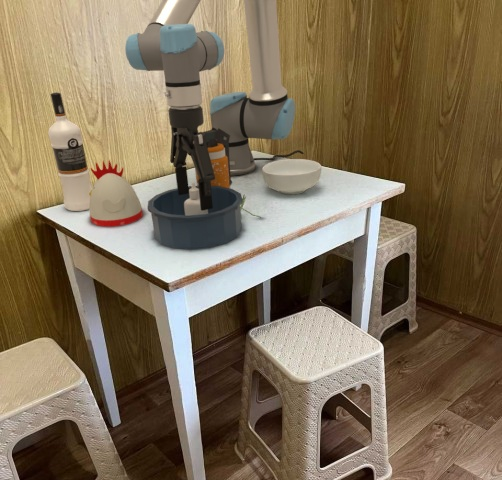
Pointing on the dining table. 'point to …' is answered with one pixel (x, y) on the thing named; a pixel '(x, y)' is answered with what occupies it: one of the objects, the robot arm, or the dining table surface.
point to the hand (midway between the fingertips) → (194, 201)
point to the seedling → (244, 209)
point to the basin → (196, 219)
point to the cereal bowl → (291, 175)
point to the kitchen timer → (113, 199)
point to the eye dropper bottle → (193, 203)
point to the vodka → (70, 159)
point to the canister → (218, 157)
